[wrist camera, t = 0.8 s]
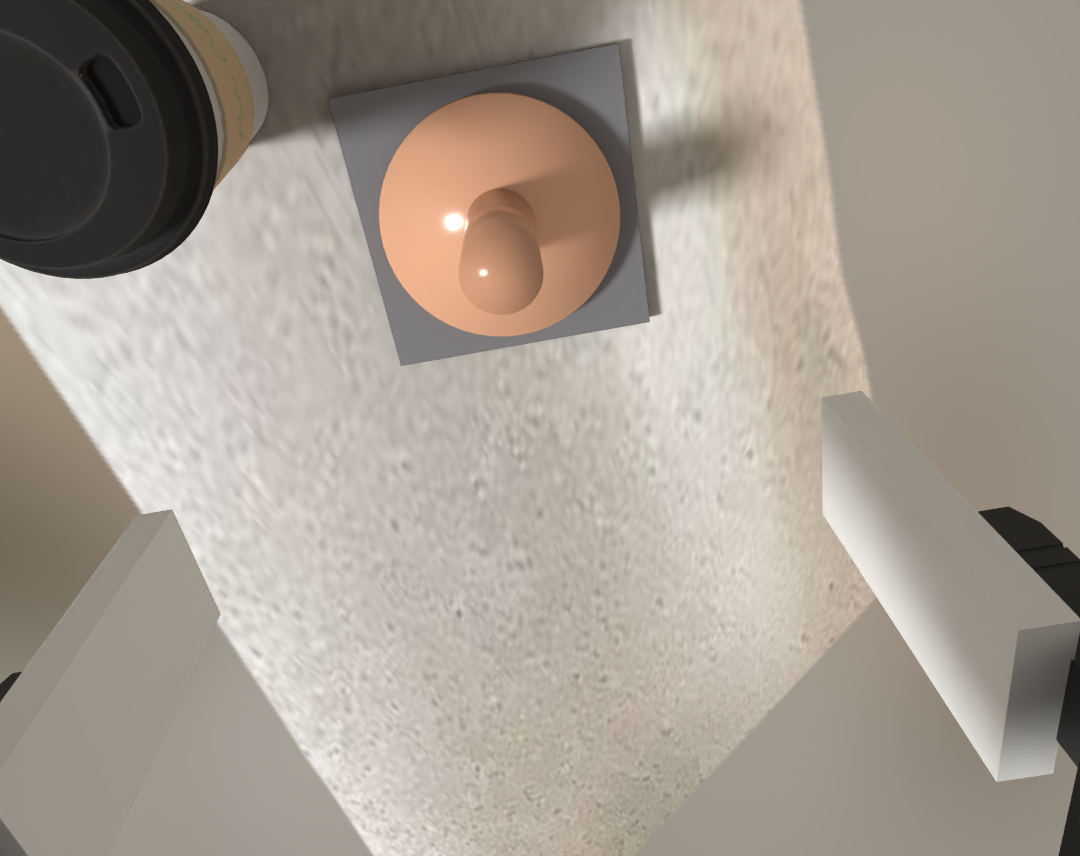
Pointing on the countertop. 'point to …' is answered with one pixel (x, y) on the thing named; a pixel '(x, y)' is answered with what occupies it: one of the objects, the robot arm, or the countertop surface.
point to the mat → (561, 80)
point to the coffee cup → (116, 129)
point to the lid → (499, 214)
